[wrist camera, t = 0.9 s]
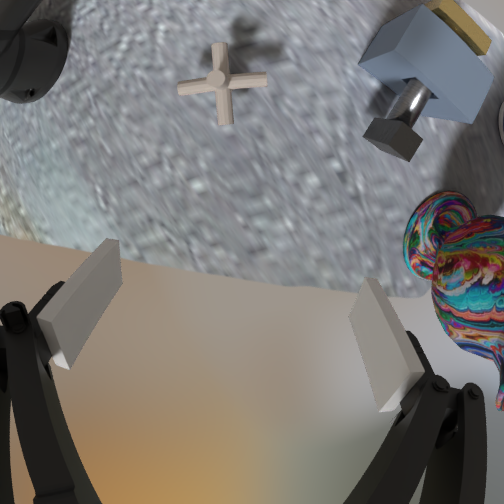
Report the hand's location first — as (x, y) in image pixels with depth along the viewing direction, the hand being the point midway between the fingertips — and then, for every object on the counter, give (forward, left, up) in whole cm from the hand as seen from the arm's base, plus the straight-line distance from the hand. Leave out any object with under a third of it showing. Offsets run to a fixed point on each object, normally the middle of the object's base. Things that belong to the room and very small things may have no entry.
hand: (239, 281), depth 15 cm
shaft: (+10, +23, -23) cm, 34 cm away
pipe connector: (-9, +9, -27) cm, 30 cm away
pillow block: (+10, +25, -27) cm, 38 cm away
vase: (+32, +8, -27) cm, 43 cm away
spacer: (+10, +32, -19) cm, 39 cm away
